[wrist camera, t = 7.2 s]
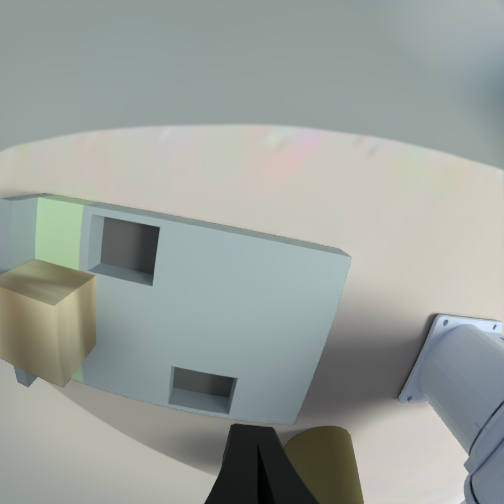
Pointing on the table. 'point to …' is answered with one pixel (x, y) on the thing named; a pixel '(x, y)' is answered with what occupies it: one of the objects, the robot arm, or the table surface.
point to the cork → (327, 464)
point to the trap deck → (187, 304)
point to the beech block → (47, 319)
